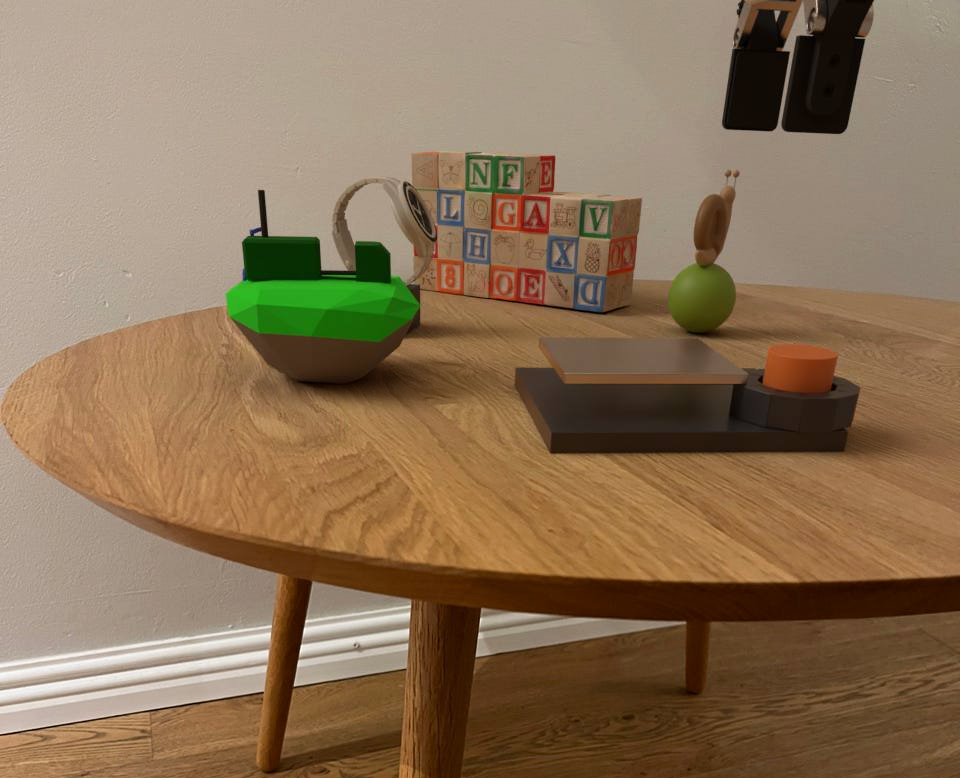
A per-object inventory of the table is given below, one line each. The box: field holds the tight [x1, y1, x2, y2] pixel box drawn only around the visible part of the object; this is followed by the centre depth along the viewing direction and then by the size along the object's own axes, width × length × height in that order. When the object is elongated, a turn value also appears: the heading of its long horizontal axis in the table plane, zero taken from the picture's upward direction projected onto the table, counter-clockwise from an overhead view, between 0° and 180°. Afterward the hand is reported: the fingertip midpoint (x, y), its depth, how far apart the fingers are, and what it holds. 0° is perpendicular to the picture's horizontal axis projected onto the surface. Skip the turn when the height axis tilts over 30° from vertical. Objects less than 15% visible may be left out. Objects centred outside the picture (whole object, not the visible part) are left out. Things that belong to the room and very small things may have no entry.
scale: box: [514, 367, 861, 455], centre depth 54 cm, size 17×14×3 cm
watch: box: [331, 176, 437, 336], centre depth 72 cm, size 6×8×11 cm
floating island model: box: [225, 189, 421, 385], centre depth 58 cm, size 12×12×11 cm
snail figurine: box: [667, 169, 741, 334], centre depth 75 cm, size 5×6×12 cm
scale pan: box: [538, 336, 749, 385], centre depth 53 cm, size 10×9×1 cm
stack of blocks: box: [411, 150, 643, 313], centre depth 87 cm, size 21×6×12 cm, turn 57°
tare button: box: [762, 343, 839, 393], centre depth 50 cm, size 4×4×2 cm
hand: (778, 131), depth 50 cm, fingers open, 9 cm apart
